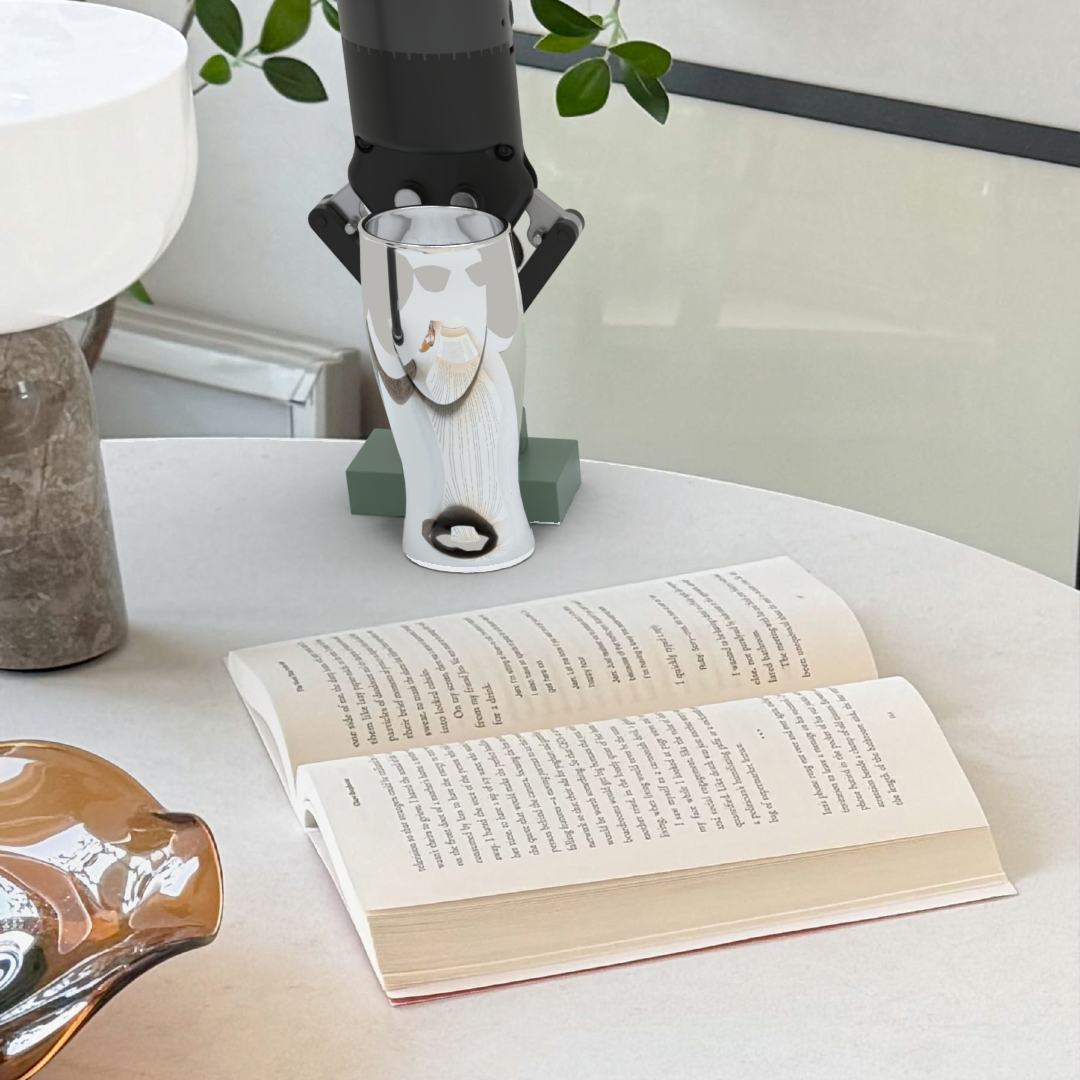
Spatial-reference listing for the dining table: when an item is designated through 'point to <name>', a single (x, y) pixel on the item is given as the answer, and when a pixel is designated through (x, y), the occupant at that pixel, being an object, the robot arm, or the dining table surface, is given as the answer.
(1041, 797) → the dining table surface
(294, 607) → the dining table surface
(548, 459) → the green block
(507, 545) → the beer glass
